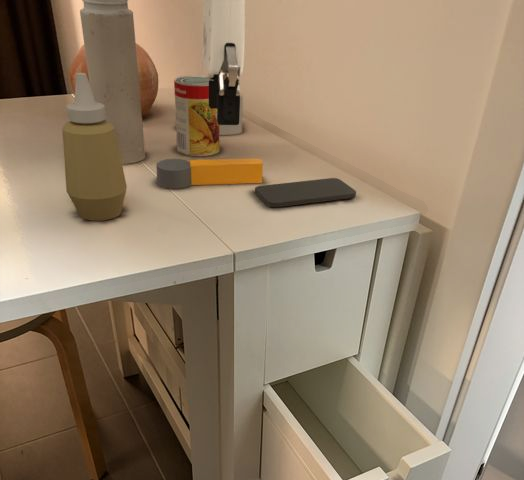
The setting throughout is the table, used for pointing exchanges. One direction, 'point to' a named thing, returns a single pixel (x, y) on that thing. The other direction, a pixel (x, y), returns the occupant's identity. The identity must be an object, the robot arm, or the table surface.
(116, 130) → the thermos bottle
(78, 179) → the squeeze bottle
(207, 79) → the canned food
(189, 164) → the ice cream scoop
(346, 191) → the phone
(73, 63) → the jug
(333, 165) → the table surface
